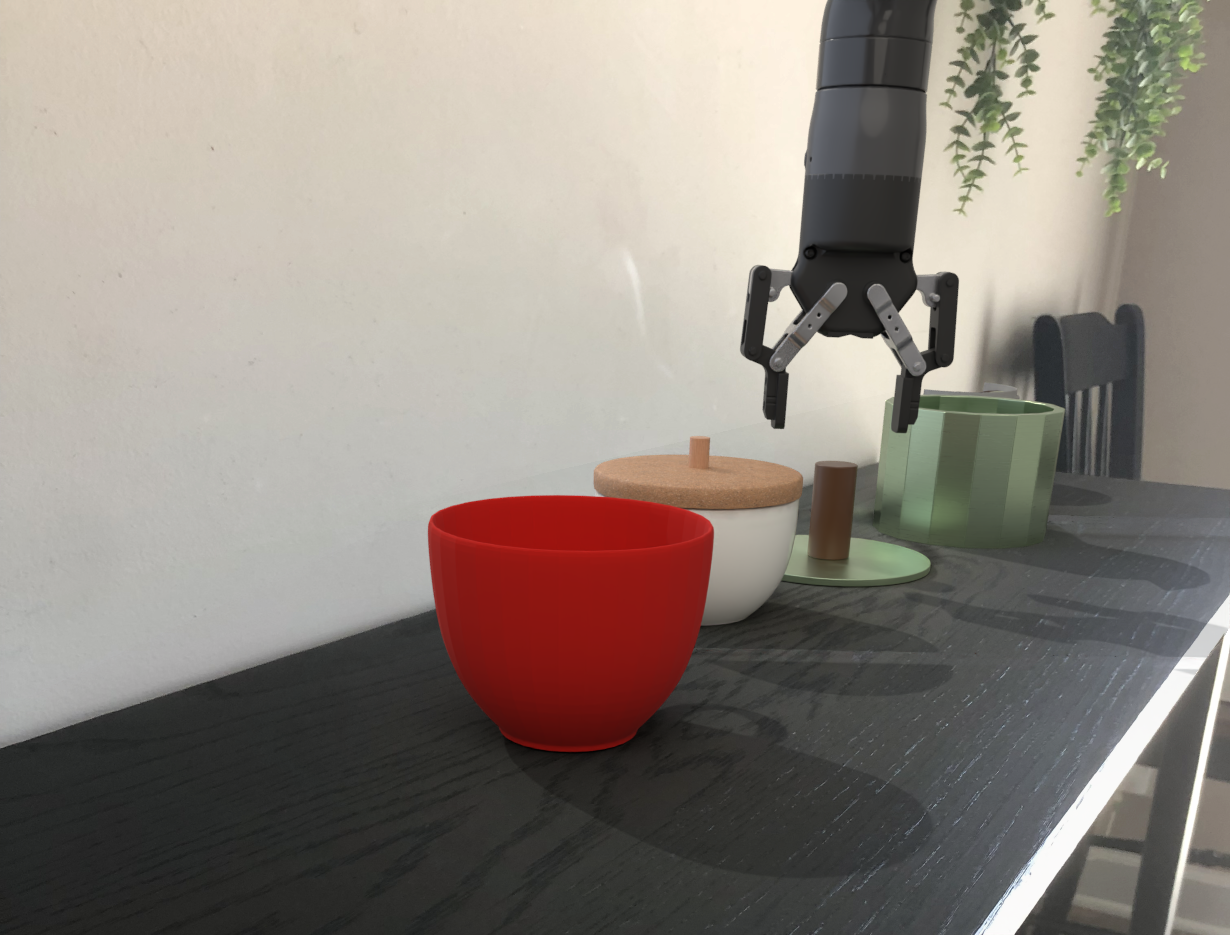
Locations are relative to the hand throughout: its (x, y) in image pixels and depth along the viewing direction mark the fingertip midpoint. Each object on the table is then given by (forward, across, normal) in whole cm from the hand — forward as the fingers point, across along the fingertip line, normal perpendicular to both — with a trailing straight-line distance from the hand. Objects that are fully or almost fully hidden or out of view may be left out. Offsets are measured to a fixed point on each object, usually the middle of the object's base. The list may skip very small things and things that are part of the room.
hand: (838, 429), depth 93 cm
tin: (+10, +13, +13) cm, 21 cm away
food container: (+10, +19, +31) cm, 38 cm away
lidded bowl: (+10, -11, -14) cm, 20 cm away
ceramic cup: (+10, -18, -33) cm, 39 cm away
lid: (+9, 0, 0) cm, 9 cm away
